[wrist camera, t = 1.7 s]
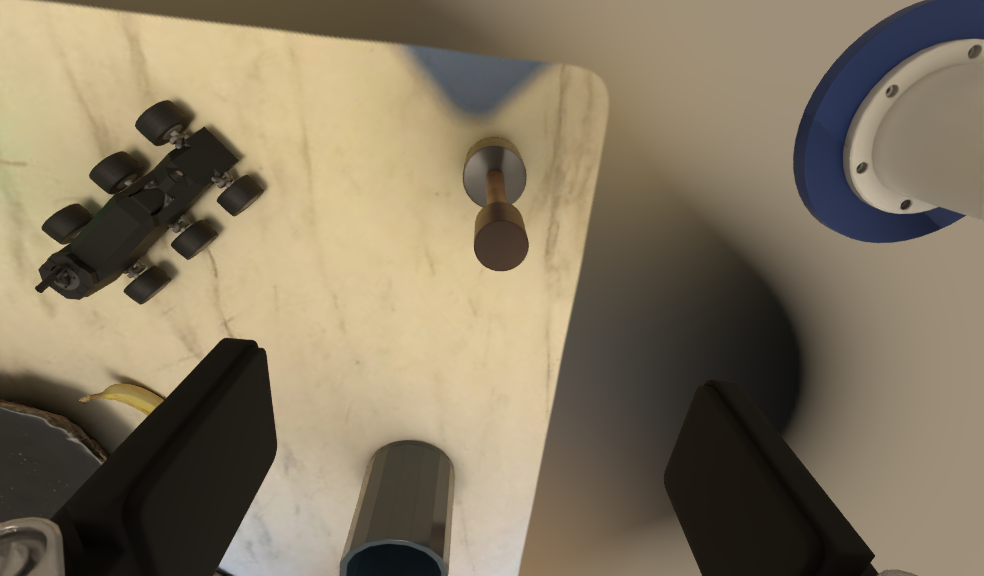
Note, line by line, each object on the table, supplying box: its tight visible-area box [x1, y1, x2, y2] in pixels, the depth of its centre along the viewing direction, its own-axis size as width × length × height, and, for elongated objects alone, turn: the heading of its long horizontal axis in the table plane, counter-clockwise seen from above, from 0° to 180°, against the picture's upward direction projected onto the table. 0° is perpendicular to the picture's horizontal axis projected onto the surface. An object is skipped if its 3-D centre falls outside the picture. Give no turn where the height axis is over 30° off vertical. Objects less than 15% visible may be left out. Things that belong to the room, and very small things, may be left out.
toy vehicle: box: [35, 100, 264, 304], centre depth 32 cm, size 8×15×9 cm, turn 129°
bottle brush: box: [463, 137, 529, 271], centre depth 28 cm, size 4×4×17 cm
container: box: [339, 441, 455, 576], centre depth 45 cm, size 9×9×11 cm
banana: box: [79, 384, 164, 415], centre depth 43 cm, size 8×2×4 cm, turn 45°
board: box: [0, 399, 109, 523], centre depth 45 cm, size 22×22×5 cm
